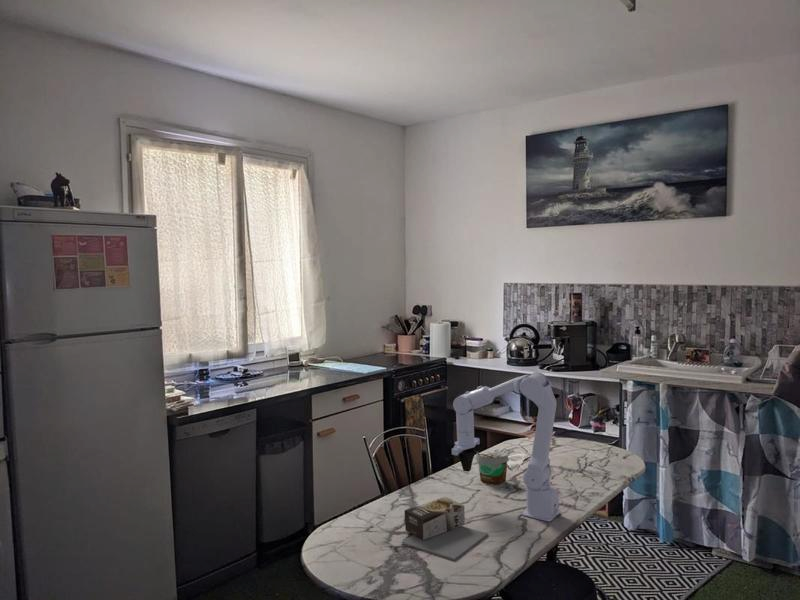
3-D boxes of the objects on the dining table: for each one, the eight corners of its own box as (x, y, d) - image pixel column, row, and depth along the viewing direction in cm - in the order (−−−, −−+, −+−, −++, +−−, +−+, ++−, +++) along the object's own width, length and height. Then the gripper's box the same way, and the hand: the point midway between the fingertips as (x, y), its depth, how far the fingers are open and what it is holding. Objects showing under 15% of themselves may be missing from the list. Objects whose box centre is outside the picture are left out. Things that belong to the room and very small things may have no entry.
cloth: (517, 452, 250) (517, 446, 249) (545, 458, 240) (545, 453, 240) (478, 468, 231) (478, 462, 231) (508, 476, 222) (507, 470, 221)
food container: (471, 483, 214) (470, 456, 214) (477, 477, 220) (476, 451, 219) (504, 487, 209) (503, 459, 208) (509, 481, 214) (508, 454, 214)
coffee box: (464, 504, 178) (422, 519, 169) (465, 525, 179) (423, 541, 169) (444, 495, 186) (403, 509, 176) (445, 515, 186) (404, 530, 176)
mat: (487, 535, 172) (487, 533, 172) (454, 561, 158) (454, 558, 158) (436, 521, 184) (436, 519, 183) (401, 544, 169) (401, 542, 169)
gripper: (466, 423, 205) (467, 462, 206) (443, 434, 194) (444, 475, 194) (484, 426, 201) (485, 465, 201) (461, 437, 189) (463, 479, 190)
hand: (466, 470), depth 198 cm, fingers closed
